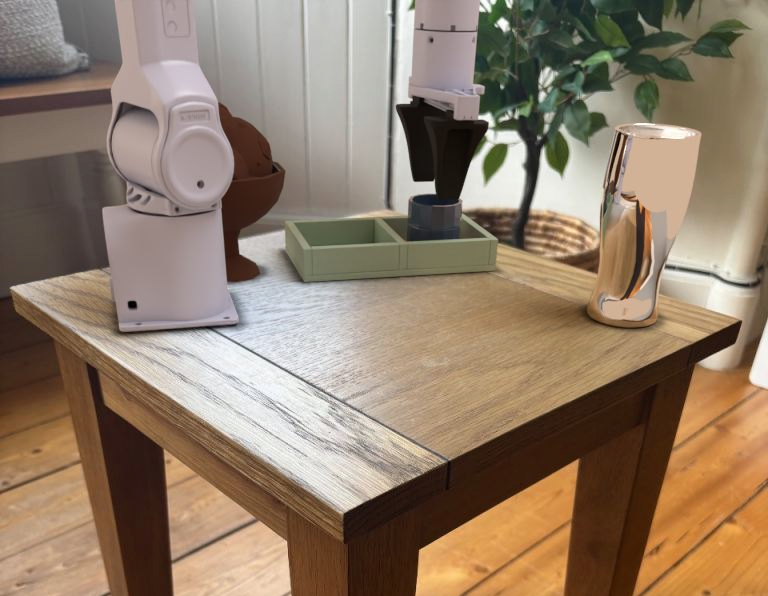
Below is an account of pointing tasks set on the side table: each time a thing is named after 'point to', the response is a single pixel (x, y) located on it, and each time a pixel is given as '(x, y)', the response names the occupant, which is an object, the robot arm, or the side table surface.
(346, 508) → the side table surface
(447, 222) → the handleless cup
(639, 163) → the beer glass
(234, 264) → the ice cream bowl
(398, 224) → the tray
